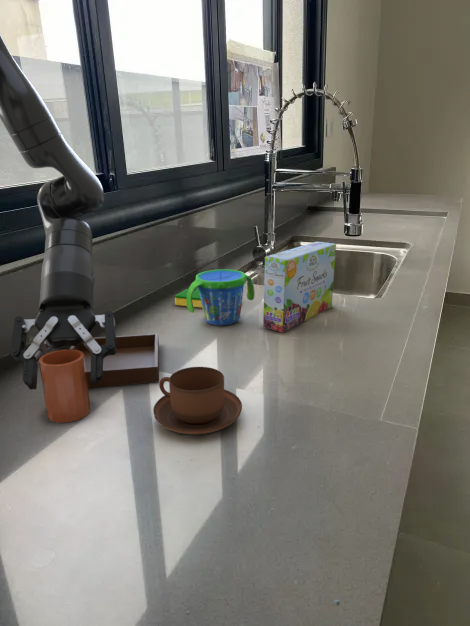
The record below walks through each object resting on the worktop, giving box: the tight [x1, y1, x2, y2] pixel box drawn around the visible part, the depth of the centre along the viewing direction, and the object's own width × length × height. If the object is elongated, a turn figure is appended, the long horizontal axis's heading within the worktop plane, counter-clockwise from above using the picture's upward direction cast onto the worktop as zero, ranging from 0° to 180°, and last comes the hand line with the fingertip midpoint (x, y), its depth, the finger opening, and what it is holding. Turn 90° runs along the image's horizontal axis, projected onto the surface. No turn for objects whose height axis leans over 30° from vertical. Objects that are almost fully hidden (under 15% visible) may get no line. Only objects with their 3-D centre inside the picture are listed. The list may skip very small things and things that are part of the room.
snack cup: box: [186, 268, 256, 326], centre depth 105 cm, size 16×10×10 cm
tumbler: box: [38, 348, 91, 424], centre depth 69 cm, size 6×6×8 cm
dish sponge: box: [174, 287, 203, 309], centre depth 118 cm, size 7×14×2 cm, turn 69°
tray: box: [69, 332, 160, 389], centre depth 85 cm, size 15×15×3 cm
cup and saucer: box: [152, 366, 243, 435], centre depth 67 cm, size 12×12×6 cm
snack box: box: [262, 241, 337, 333], centre depth 106 cm, size 21×6×15 cm, turn 143°
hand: (63, 385), depth 68 cm, fingers open, 8 cm apart
